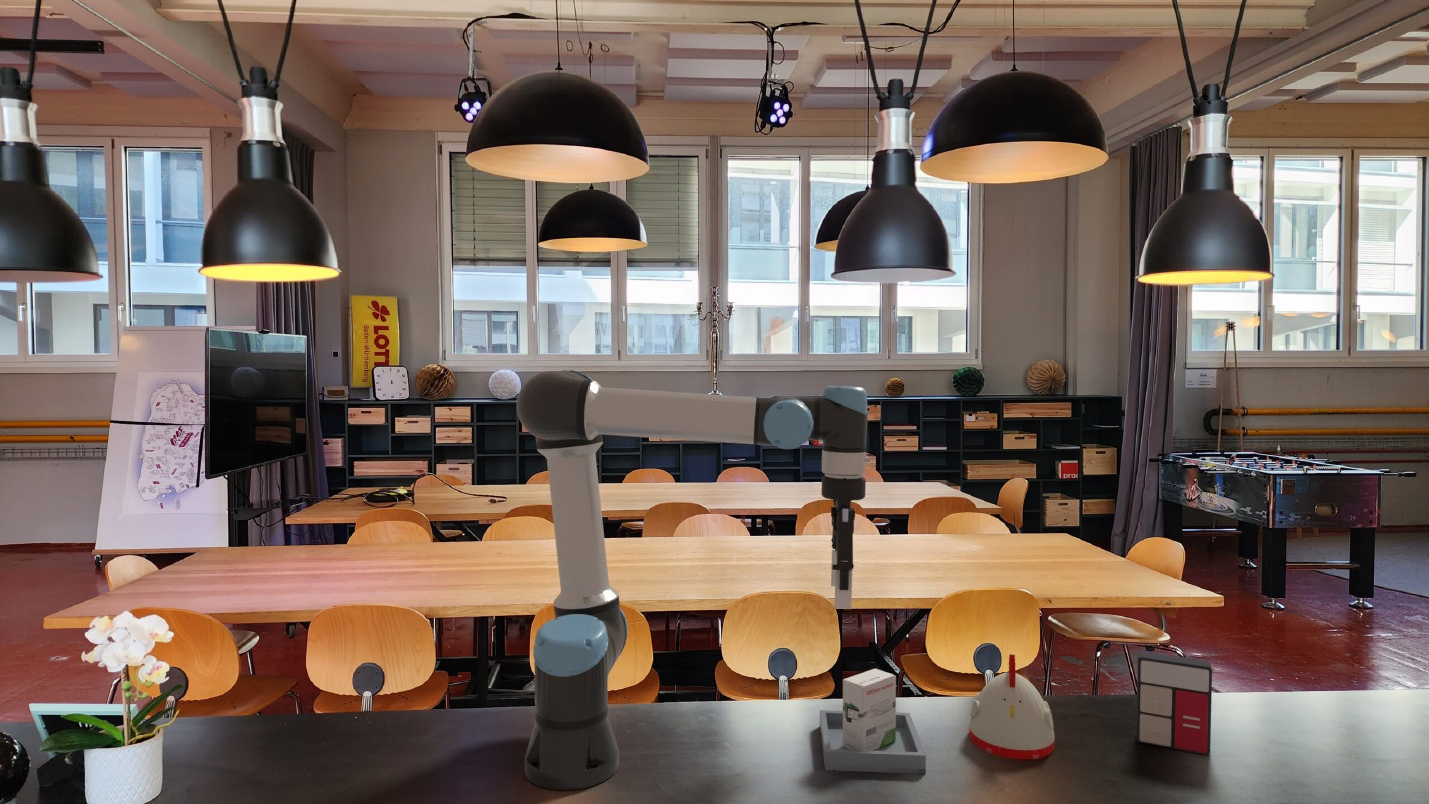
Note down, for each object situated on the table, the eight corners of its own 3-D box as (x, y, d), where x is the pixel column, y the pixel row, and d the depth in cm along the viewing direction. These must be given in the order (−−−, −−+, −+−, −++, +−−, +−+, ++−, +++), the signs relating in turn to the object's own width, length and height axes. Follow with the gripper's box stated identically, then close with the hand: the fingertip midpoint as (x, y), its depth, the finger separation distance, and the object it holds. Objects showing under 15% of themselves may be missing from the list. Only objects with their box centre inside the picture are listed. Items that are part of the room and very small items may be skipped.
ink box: (875, 731, 142) (875, 665, 142) (897, 742, 138) (897, 674, 138) (840, 745, 137) (841, 677, 137) (862, 756, 133) (863, 686, 133)
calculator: (1136, 743, 139) (1137, 658, 139) (1136, 733, 143) (1137, 650, 143) (1210, 757, 134) (1212, 669, 134) (1208, 747, 138) (1210, 660, 138)
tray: (824, 769, 131) (824, 751, 130) (819, 726, 146) (819, 710, 146) (925, 773, 129) (925, 755, 129) (909, 729, 145) (909, 712, 145)
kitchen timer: (968, 752, 137) (969, 665, 136) (970, 718, 150) (971, 639, 149) (1057, 765, 132) (1058, 674, 132) (1051, 729, 145) (1052, 647, 145)
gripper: (872, 486, 127) (868, 619, 128) (860, 467, 152) (857, 578, 153) (824, 484, 128) (821, 617, 129) (819, 466, 153) (817, 577, 153)
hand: (840, 596), depth 141 cm, fingers open, 13 cm apart
